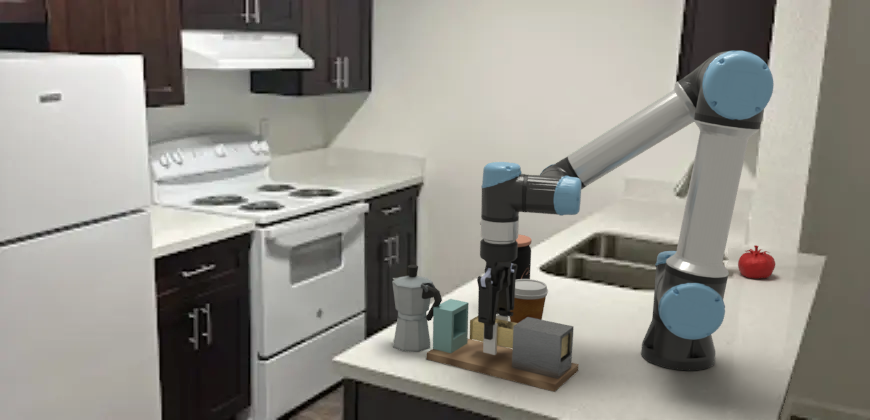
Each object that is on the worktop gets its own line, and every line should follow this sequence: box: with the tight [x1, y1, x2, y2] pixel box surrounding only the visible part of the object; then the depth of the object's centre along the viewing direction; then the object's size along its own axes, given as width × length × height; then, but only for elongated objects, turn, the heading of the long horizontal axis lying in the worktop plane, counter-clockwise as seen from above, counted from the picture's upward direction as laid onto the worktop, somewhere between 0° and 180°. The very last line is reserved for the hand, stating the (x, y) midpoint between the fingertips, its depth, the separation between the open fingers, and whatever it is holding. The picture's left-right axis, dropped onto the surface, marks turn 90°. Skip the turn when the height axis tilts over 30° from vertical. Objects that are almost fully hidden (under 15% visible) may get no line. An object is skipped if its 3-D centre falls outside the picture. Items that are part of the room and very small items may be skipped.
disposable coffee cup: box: [509, 278, 549, 323], centre depth 184 cm, size 10×10×12 cm
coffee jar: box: [492, 233, 532, 286], centre depth 202 cm, size 11×11×18 cm
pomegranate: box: [737, 244, 776, 280], centre depth 235 cm, size 10×10×9 cm
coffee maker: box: [392, 264, 443, 353], centre depth 175 cm, size 15×9×18 cm, turn 45°
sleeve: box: [512, 317, 574, 379], centre depth 162 cm, size 10×7×9 cm, turn 59°
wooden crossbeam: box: [469, 315, 568, 358], centre depth 164 cm, size 20×4×4 cm, turn 59°
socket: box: [432, 298, 470, 353], centre depth 172 cm, size 4×7×9 cm, turn 149°
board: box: [425, 338, 579, 393], centre depth 167 cm, size 29×12×2 cm, turn 59°
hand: (495, 349), depth 168 cm, fingers open, 4 cm apart
